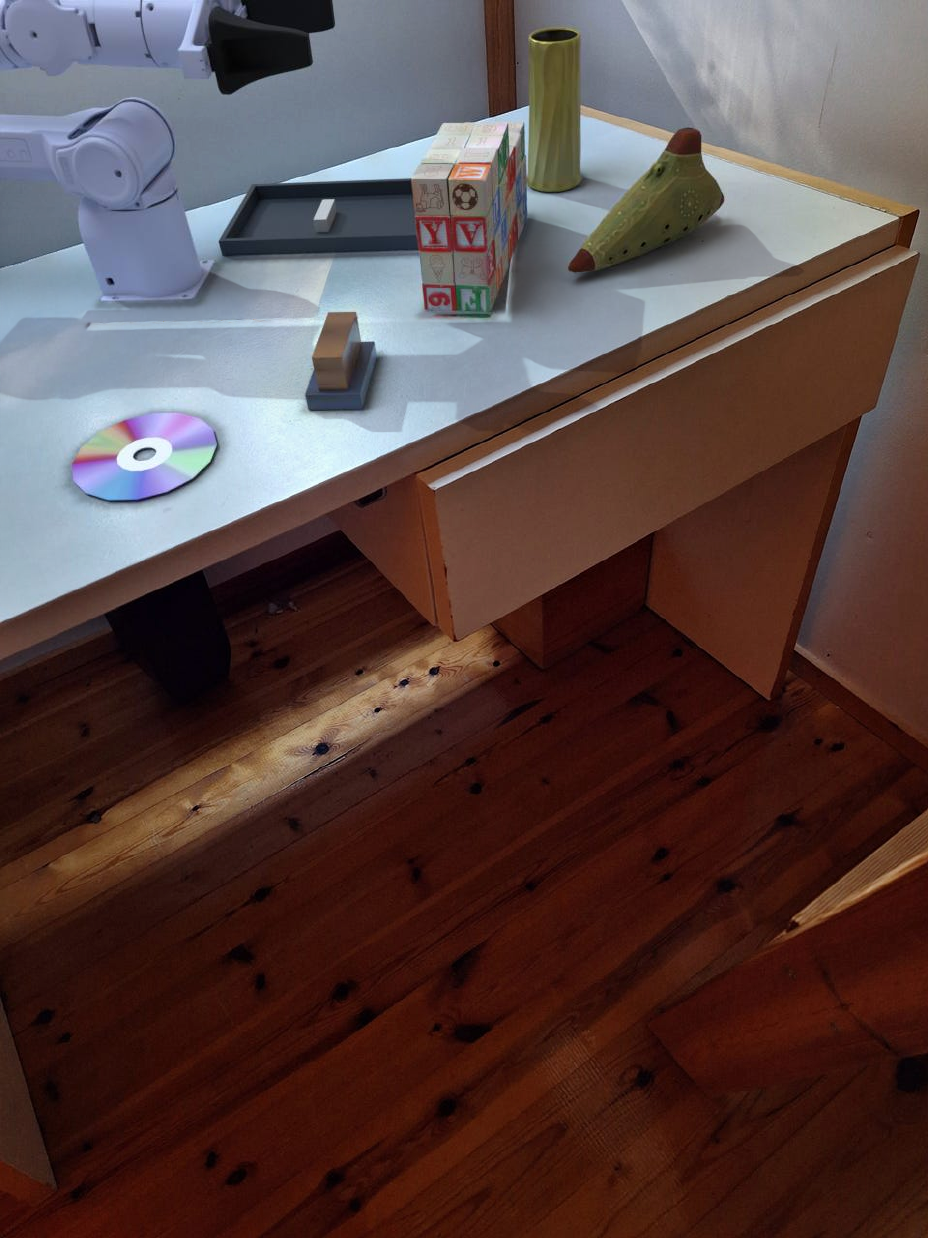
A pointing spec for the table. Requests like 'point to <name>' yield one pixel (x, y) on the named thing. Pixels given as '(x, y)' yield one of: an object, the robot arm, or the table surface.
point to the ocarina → (655, 207)
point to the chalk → (325, 215)
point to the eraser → (340, 365)
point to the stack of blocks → (469, 213)
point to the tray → (287, 211)
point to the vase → (554, 109)
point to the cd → (121, 477)
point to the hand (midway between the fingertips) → (321, 30)
